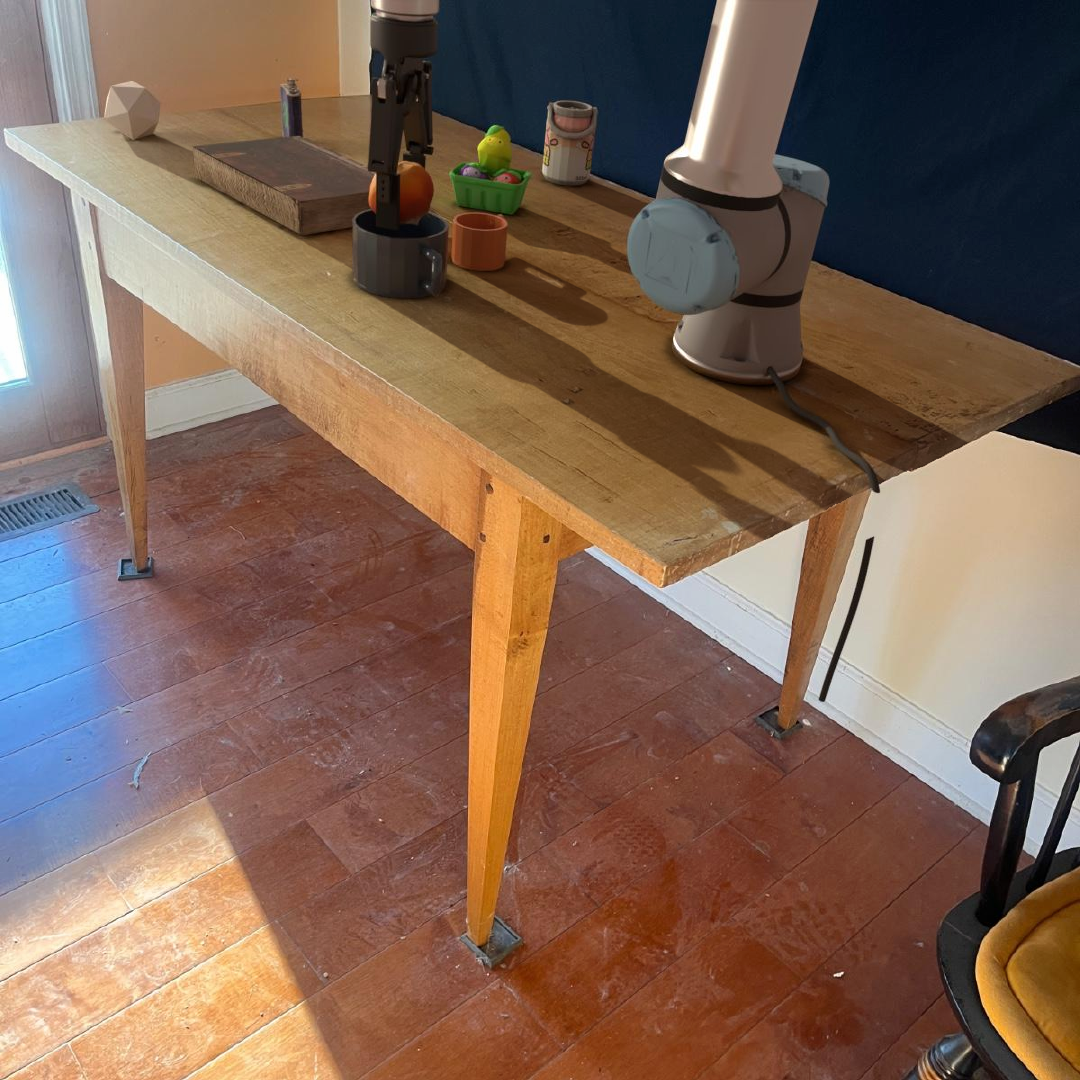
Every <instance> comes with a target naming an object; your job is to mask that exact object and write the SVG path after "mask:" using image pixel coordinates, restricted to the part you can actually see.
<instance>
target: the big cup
mask: <svg viewBox="0 0 1080 1080" xmlns="http://www.w3.org/2000/svg"><path fill="white" fill-rule="evenodd" d="M428 215H429V216H430V217H431V218H432V219H430V218H429V217H427V216H422V218H421V219H420V220H419V222H418V226H417V225H415V224H400V225H399V229H398V230H391V229H386V228H380V227H376V213H375V212H374V211H373V210H372V209H369V210H365V211H362V212H360V213H358V214H356V215H355V216H354V217H353V219H352V227H351V229H352V230H351V233H352V234H351V236H352V237H351V239H352V240H351V241H352V246H351V247H352V281H353V283H354V284H355V285H356V286H357V288H359V289H360V290H363V291H364V292H367V293H370V294H373V295H376V296H381V297H384V298H392V299H418V298H419V299H420V298H425V297H430V296H433V297H436V298H437V297H439V296H440V295H441V294H442V290H444V288H445V287H446V285H447V278H448V275H447V274H448V254H449V253H448V252H449V231H450V230H449V229H450V226H449V223H448V221H447V220H446V219H444V218H443V217H442V216H440V215H437V214H435V213H433V212H430V211H429V212H428Z"/></svg>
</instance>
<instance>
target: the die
mask: <svg viewBox="0 0 1080 1080" xmlns="http://www.w3.org/2000/svg"><path fill="white" fill-rule="evenodd" d="M161 104H162V102H161V101H160V100H159V99H158V98H157V97H156V96H155V95H153V94H152V93H151V91H149V90H148V89H147V88H146V87H145V86H143V85H141V84H139V83H137V82H135V81H133V80H129V81H124V82H122V83H117V84H114V85H111V86H110V87H109V92H108V94H107V97H106V102H105V108H104V109H105V110H104V116H103V120H105V121H106V122H107V123H109V124H110V125H111V126H112V127H113V128H115V130H117V131H119V132H120V133H122V134H123V135H124V136H126V137H128V139H131V140H132V141H135V140H138V139H142V138H144V137H147V136H150V135H153V134H154V133H155V131H156V129H157V126H158V124H159V122H160V121H159V120H160V113H161V112H160V111H161Z"/></svg>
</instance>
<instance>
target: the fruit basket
mask: <svg viewBox="0 0 1080 1080" xmlns="http://www.w3.org/2000/svg"><path fill="white" fill-rule="evenodd" d="M511 140H512V139H511V136H510V134H509V133H508V132H507V130H505V127H504V126H500V125H497V124H496V125H492V126H491V127H489V129H488V130H487V133H486V134H484V138H483V139H482V140H481V141H480V142H479V144H478V145H477V156H478V162H466V161H465V162H461V163H460V164H458V165H457V166H456V167H454V168H453V169H452V170H450V171H449V177H450V180H451V182H452V188H453V193H454V197H455V201H456V205H457V206H458V207H463V208H470V209H475V210H476V209H477V210H481V211H484V210H485V211H487V212H492V213H500V214H506V215H511V216H512V215H514V213H515V212H516V211H517V210H518V209H519V208H520V207H521V205H522V202H523V199H524V196H525V193H526V189H527V187H528V183H529V182H530V179H531V177H532V172H530V171H526V170H520V169H516V168H511V162H512V159H513V150H512V147H511Z"/></svg>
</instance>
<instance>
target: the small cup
mask: <svg viewBox="0 0 1080 1080" xmlns="http://www.w3.org/2000/svg"><path fill="white" fill-rule="evenodd" d="M508 226H509V223H508V221H507V220H506V219H505V217H504V215H503V213H499V214H497V215H495V214H491V213H487V212H477V211H476V212H464V213H459V214H457V215H455V216H454V217H453V219H452V236H451V238H452V239H451V240H452V241H451V261H452V263H453V264H454V265H455V266H457V267H460V268H462V269H464V270H465V269H466V270H470V271H475V272H477V271H478V272H491V271H496V270H499V269H501V268H503V267H504V266H505V261H506V250H507V239H508V238H507V237H508Z"/></svg>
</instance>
